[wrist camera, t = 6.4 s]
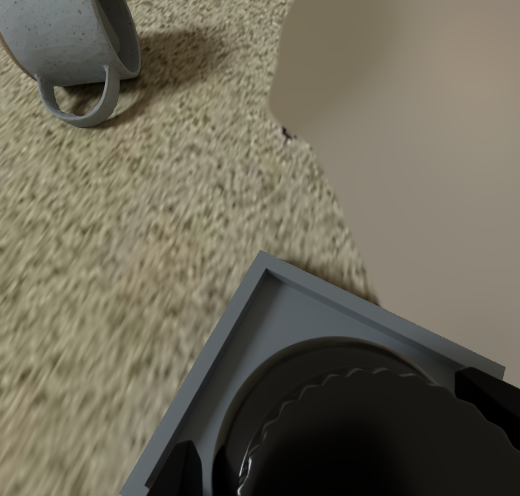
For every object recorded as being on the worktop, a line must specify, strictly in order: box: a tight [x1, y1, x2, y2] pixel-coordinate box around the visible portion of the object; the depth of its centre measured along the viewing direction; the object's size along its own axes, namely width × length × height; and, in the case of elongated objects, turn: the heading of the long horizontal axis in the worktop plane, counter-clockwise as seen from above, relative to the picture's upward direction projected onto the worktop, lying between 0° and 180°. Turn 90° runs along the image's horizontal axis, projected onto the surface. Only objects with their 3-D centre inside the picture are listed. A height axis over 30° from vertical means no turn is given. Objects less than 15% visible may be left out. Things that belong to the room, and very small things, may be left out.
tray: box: [119, 250, 505, 496], centre depth 15 cm, size 13×13×2 cm
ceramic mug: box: [0, 0, 141, 127], centre depth 23 cm, size 11×8×8 cm
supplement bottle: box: [211, 336, 520, 496], centre depth 10 cm, size 7×7×12 cm
